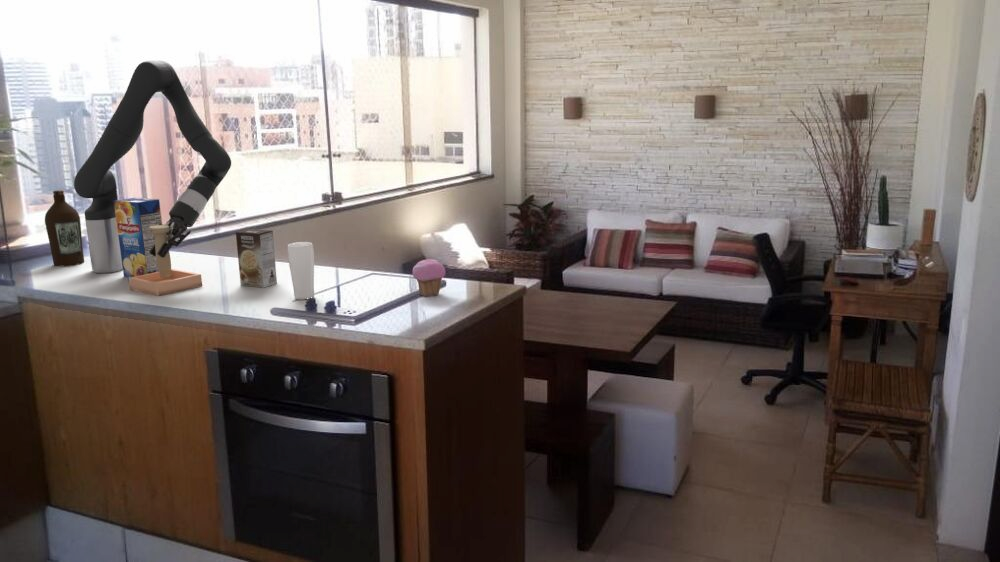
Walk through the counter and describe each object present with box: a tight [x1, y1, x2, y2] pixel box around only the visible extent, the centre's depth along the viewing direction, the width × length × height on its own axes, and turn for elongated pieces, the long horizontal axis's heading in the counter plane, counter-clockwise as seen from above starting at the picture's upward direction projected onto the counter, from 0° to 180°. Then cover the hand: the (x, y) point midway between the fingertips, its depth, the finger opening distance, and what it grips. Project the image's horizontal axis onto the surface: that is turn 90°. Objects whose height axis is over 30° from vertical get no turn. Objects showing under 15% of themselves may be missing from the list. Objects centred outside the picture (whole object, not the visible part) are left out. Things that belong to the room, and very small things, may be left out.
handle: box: [149, 224, 172, 278], centre depth 239 cm, size 5×6×15 cm
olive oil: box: [44, 189, 85, 267], centre depth 279 cm, size 11×11×25 cm
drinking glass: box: [287, 241, 315, 301], centre depth 223 cm, size 7×7×15 cm
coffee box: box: [235, 228, 278, 289], centre depth 241 cm, size 9×6×16 cm
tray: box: [128, 268, 203, 297], centre depth 241 cm, size 15×14×4 cm
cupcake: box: [412, 258, 446, 297], centre depth 223 cm, size 9×9×10 cm
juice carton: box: [114, 197, 163, 278], centre depth 256 cm, size 12×8×24 cm, turn 59°
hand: (156, 255), depth 238 cm, fingers closed on handle, 3 cm apart
